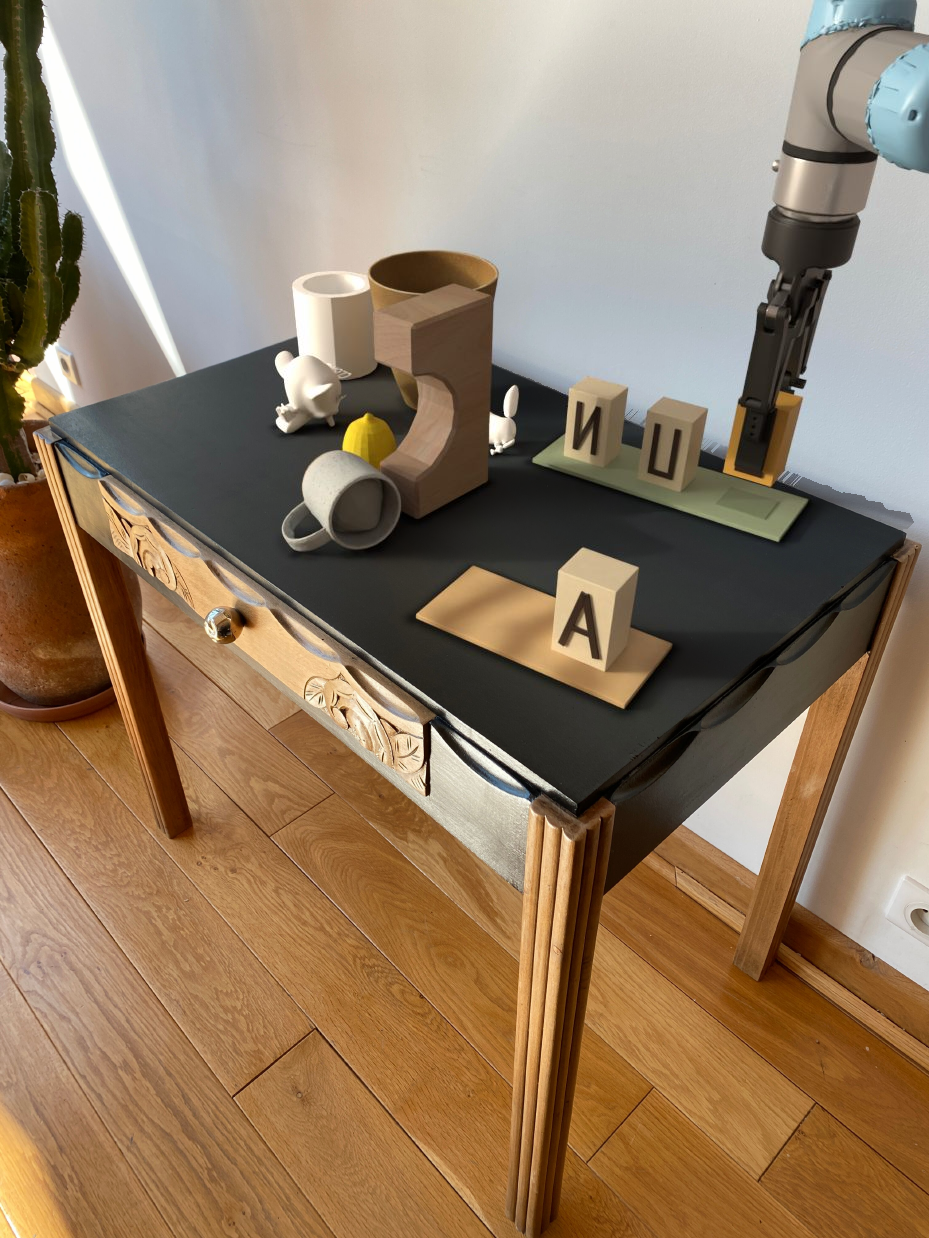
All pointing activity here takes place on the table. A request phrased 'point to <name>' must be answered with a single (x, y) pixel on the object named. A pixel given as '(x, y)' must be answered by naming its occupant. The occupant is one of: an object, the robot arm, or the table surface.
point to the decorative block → (440, 393)
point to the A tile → (593, 608)
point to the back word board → (690, 492)
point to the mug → (336, 320)
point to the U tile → (672, 443)
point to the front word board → (536, 634)
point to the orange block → (778, 443)
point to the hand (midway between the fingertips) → (757, 457)
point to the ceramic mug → (345, 503)
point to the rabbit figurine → (504, 423)
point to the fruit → (370, 440)
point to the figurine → (307, 390)
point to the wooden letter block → (595, 421)
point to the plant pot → (425, 286)
